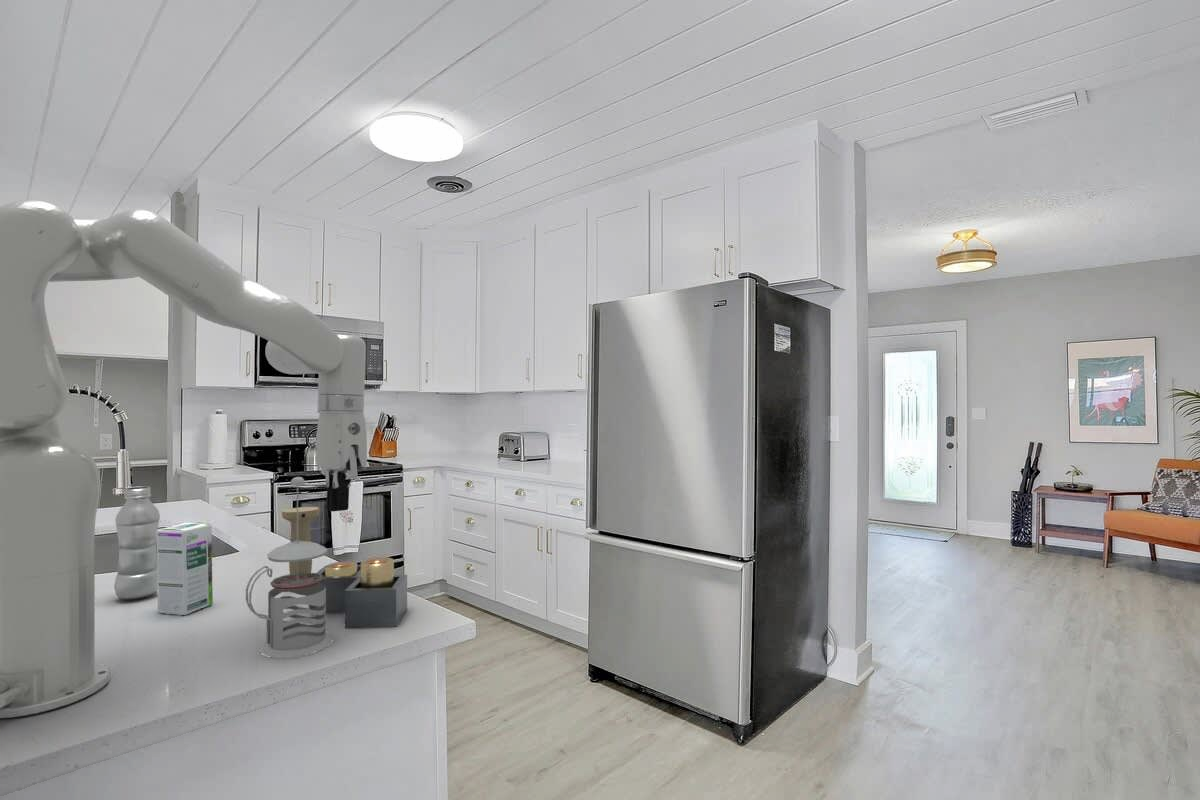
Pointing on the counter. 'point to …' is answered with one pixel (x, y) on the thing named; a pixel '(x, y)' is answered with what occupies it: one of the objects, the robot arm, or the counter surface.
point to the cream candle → (341, 569)
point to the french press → (294, 602)
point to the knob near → (377, 573)
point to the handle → (300, 533)
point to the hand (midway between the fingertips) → (337, 509)
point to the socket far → (336, 590)
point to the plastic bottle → (137, 545)
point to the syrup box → (184, 568)
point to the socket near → (375, 604)
